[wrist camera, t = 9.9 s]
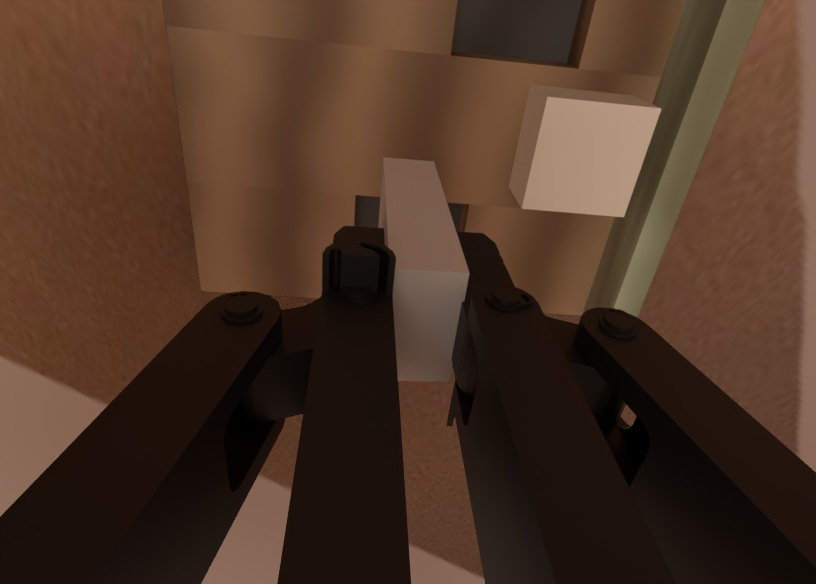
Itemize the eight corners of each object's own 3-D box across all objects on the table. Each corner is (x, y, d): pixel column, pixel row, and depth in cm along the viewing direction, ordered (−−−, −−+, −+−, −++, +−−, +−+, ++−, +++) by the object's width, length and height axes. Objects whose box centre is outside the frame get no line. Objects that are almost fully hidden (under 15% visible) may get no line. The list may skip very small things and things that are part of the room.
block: (508, 186, 26) (521, 208, 24) (530, 84, 24) (547, 96, 21) (601, 194, 27) (623, 217, 24) (632, 95, 24) (661, 108, 22)
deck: (211, 273, 31) (182, 320, 26) (160, -160, 20) (99, -198, 16) (594, 299, 32) (625, 347, 28) (725, -85, 22) (806, -102, 18)
